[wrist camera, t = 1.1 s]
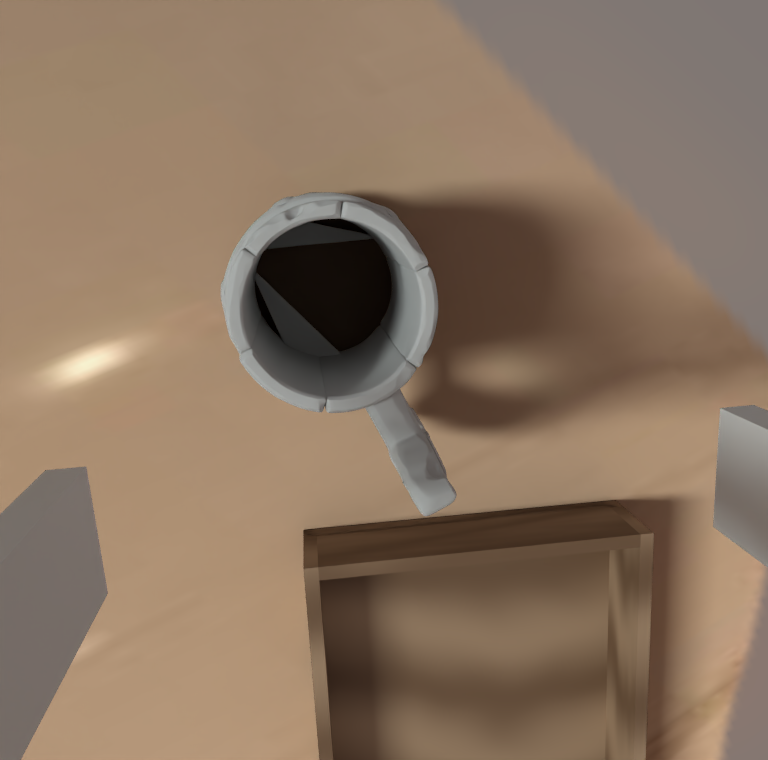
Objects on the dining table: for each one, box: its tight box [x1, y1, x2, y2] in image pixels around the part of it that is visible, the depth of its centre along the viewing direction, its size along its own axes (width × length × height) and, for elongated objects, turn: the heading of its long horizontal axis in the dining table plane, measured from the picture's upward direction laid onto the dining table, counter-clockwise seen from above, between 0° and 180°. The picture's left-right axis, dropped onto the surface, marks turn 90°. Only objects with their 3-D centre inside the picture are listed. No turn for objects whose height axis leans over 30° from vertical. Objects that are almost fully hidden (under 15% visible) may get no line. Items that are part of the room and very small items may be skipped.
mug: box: [221, 192, 456, 516], centre depth 24 cm, size 8×12×12 cm, turn 28°
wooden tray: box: [304, 500, 654, 760], centre depth 33 cm, size 17×15×4 cm
